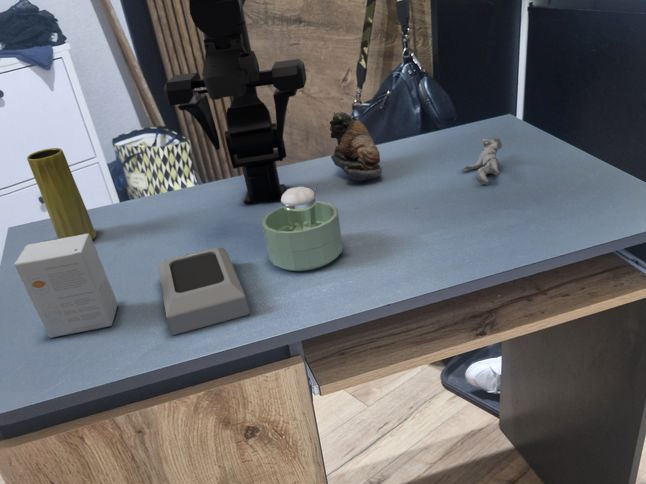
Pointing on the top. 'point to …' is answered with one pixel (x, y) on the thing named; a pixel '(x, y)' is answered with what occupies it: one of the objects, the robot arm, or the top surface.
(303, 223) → the milkshake
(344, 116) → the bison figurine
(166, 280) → the grey flat block
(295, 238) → the sage green round tub
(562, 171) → the top surface
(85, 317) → the small box
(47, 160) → the vase
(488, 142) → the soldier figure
